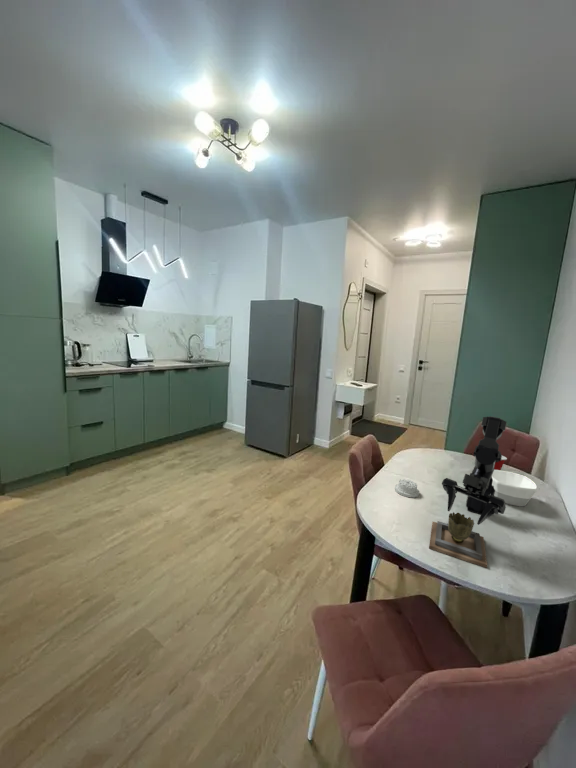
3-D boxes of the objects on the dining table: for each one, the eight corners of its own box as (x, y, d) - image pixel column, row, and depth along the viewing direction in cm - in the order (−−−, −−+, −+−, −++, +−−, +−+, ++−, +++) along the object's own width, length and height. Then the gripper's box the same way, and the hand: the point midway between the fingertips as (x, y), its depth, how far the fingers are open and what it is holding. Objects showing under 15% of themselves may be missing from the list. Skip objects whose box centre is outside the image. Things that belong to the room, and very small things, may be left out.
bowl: (539, 514, 135) (544, 492, 133) (489, 503, 140) (493, 482, 138) (524, 494, 151) (528, 475, 150) (480, 485, 157) (484, 466, 155)
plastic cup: (504, 478, 168) (509, 455, 166) (500, 484, 160) (505, 460, 158) (480, 470, 175) (484, 448, 173) (475, 476, 167) (479, 453, 165)
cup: (440, 537, 111) (444, 515, 109) (451, 531, 115) (456, 509, 114) (462, 550, 105) (467, 527, 103) (474, 543, 109) (478, 521, 108)
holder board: (482, 539, 113) (484, 532, 113) (486, 568, 99) (488, 560, 99) (432, 523, 120) (433, 517, 120) (428, 548, 106) (430, 541, 106)
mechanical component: (391, 491, 142) (414, 500, 137) (392, 482, 142) (416, 490, 136) (399, 484, 150) (421, 492, 145) (400, 475, 150) (423, 483, 144)
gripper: (448, 455, 116) (429, 494, 111) (510, 476, 103) (492, 521, 98) (453, 471, 123) (435, 508, 118) (512, 492, 110) (495, 535, 104)
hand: (462, 517), depth 109 cm, fingers open, 9 cm apart
